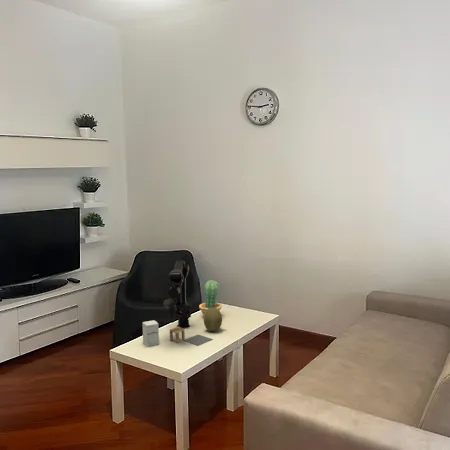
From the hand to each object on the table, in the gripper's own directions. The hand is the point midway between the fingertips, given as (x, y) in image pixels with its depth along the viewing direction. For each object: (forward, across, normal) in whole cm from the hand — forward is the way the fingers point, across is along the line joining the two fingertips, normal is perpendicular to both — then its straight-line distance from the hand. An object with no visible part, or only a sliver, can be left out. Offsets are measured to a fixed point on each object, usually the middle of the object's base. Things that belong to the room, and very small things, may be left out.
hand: (177, 319), depth 274 cm
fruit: (+13, +5, +25) cm, 28 cm away
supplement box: (+13, -8, -13) cm, 20 cm away
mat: (+13, +9, +8) cm, 17 cm away
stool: (+13, 0, 0) cm, 13 cm away
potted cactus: (+13, -14, +43) cm, 47 cm away
